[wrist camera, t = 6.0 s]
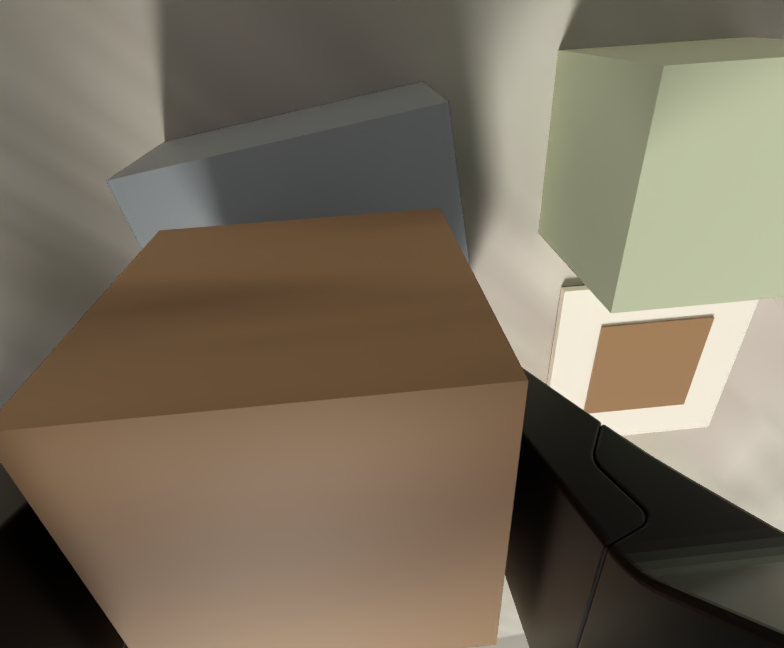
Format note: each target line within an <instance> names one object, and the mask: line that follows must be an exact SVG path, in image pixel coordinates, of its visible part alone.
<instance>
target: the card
mask: <svg viewBox="0 0 784 648" xmlns="http://www.w3.org/2000/svg"><path fill="white" fill-rule="evenodd" d="M758 301H759V300H749V301H739V302H728V303H717V304H706V305H696V306H685V307H674V308H663V309H653V310H642V311H631V312H620V313H610V312H609V311H608V310H607V309H606V308H605V306H604V305H603V304H602V303H601V302H600V301H599V300H598V299H597V298H596V296H595V295H594V294H593V293H592V292H591V291H590V290H589V289H588V288H587V286H586V285H584V286H572V287H561V293H560V300H559V307H558V313H557V320H556V326H555V333H554V340H553V346H552V353H551V360H550V366H549V373H548V380H547V385H548V386H550V387H551V388H552V389H554V390H555V391H557V392H558V393H560V394H561V395H563V396H564V397H565V398H567V399H568V400H570V401H571V402H573V403H574V404H576V405H577V406H579V407H580V408H581V409H583V410H584V411H586V412H587V413H589V414H590V415H592V416H593V417H594V418H596V419H597V420H599V421H600V422H601V425H606V426H608V427H609V428H611V429H612V430H614V431H615V432H616V433H618V434H619V435H631V434H641V433H651V432H661V431H671V430H681V429H691V428H701V427H708V426H709V423H710V421H711V418H712V416H713V413H714V411H715V408H716V406H717V403H718V401H719V398H720V396H721V393H722V391H723V388H724V386H725V383H726V381H727V378H728V376H729V373H730V371H731V368H732V366H733V363H734V361H735V358H736V356H737V353H738V351H739V348H740V346H741V343H742V341H743V338H744V336H745V333H746V331H747V328H748V326H749V323H750V321H751V318H752V316H753V313H754V311H755V308H756V306H757V303H758Z"/></svg>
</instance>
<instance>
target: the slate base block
mask: <svg viewBox="0 0 784 648" xmlns="http://www.w3.org/2000/svg"><path fill="white" fill-rule="evenodd" d="M106 182H107V184H108V186H109V188H110V190H111V191H112V193H113V195H114V197H115V199H116V201H117V203H118V205H119V207H120V209H121V211H122V213H123V215H124V216H125V218H126V220H127V222H128V224H129V226H130V228H131V230H132V232H133V234H134V236H135V238H136V240H137V241H138V243H139V245H140V247H141V249H143V248H144V247H145V246H146V245H147V244H148V243H149V241H150V240H151V239H152V238H153V237H154V236H155V235H156V234H157V232H158V231H159V230H171V229H183V228H196V227H208V226H221V225H233V224H246V223H259V222H271V221H284V220H296V219H309V218H321V217H334V216H346V215H359V214H372V213H384V212H397V211H409V210H422V209H434V208H440V209H441V211H442V213H443V215H444V217H445V219H446V221H447V223H448V225H449V227H450V229H451V231H452V233H453V235H454V237H455V239H456V240H457V242H458V244H459V246H460V248H461V250H462V252H463V254H464V256H465V258H466V260H467V262H468V264H469V259H468V251H467V243H466V235H465V227H464V220H463V212H462V204H461V196H460V188H459V180H458V172H457V164H456V157H455V149H454V141H453V133H452V125H451V117H450V109H449V102H448V101H447V100H446V99H444V98H443V97H442V96H441V95H439V94H438V93H437V92H436V91H434V90H433V89H432V88H430V87H429V86H428V85H427V84H425V83H424V82H423V81H422V82H418V83H414V84H409V85H405V86H401V87H397V88H392V89H388V90H384V91H379V92H375V93H371V94H367V95H362V96H358V97H354V98H349V99H345V100H341V101H337V102H332V103H328V104H324V105H319V106H315V107H311V108H307V109H302V110H298V111H294V112H289V113H285V114H281V115H277V116H272V117H268V118H264V119H259V120H255V121H251V122H247V123H242V124H238V125H234V126H229V127H225V128H221V129H217V130H212V131H208V132H204V133H199V134H195V135H191V136H187V137H182V138H178V139H174V140H169V141H165V142H163V143H162V144H160V145H159V146H157V147H156V148H154V149H153V150H151V151H150V152H148V153H147V154H145V155H144V156H142V157H141V158H139V159H138V160H136V161H135V162H133V163H132V164H130V165H129V166H127V167H126V168H124V169H123V170H121V171H120V172H118V173H117V174H115V175H114V176H112V177H111V178H109V179H108V180H106Z"/></svg>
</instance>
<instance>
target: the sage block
mask: <svg viewBox="0 0 784 648" xmlns="http://www.w3.org/2000/svg"><path fill="white" fill-rule="evenodd" d="M538 233H539V235H540V236H541V237H542V238H543V239H544V240H545V241H546V242H547V243H548V244H549V246H550V247H551V248H552V249H553V250H554V251H555V252H556V253H557V254H558V256H559V257H560V258H561V259H562V260H563V261H564V262H565V263H566V264H567V265H568V267H569V268H570V269H571V270H572V271H573V272H574V273H575V274H576V275H577V277H578V278H579V279H580V280H581V281H582V282H583V283H584V284H585V285H586V286H587V288H588V289H589V290H590V291H591V292H592V293H593V294H594V295H595V296H596V298H597V299H598V300H599V301H600V302H601V303H602V304H603V305H604V306H605V308H606V309H607V310H608V311H609V312H610V313H620V312H631V311H642V310H653V309H663V308H674V307H685V306H696V305H706V304H717V303H728V302H739V301H749V300H760V299H771V298H782V297H784V39H779V38H757V37H738V38H724V39H710V40H696V41H682V42H668V43H654V44H640V45H626V46H612V47H598V48H584V49H570V50H558V57H557V66H556V75H555V85H554V94H553V103H552V112H551V121H550V130H549V140H548V149H547V158H546V167H545V176H544V185H543V195H542V204H541V213H540V222H539V231H538Z"/></svg>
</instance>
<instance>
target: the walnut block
mask: <svg viewBox="0 0 784 648" xmlns="http://www.w3.org/2000/svg"><path fill="white" fill-rule="evenodd" d="M527 388H528V379H527V377H526V375H525V373H524V371H523V369H522V367H521V365H520V363H519V361H518V359H517V357H516V355H515V353H514V351H513V349H512V348H511V346H510V344H509V342H508V340H507V338H506V336H505V334H504V332H503V330H502V328H501V326H500V324H499V322H498V320H497V318H496V316H495V314H494V312H493V311H492V309H491V307H490V305H489V303H488V301H487V299H486V297H485V295H484V293H483V291H482V289H481V287H480V285H479V283H478V281H477V279H476V277H475V276H474V274H473V272H472V270H471V268H470V266H469V264H468V262H467V260H466V258H465V256H464V254H463V252H462V250H461V248H460V246H459V244H458V242H457V240H456V239H455V237H454V235H453V233H452V231H451V229H450V227H449V225H448V223H447V221H446V219H445V217H444V215H443V213H442V211H441V209H440V208H434V209H422V210H409V211H397V212H384V213H372V214H359V215H346V216H334V217H321V218H309V219H296V220H284V221H271V222H259V223H246V224H233V225H221V226H208V227H196V228H183V229H171V230H159V231H158V232H157V234H156V235H155V236H154V237H153V238H152V239H151V240H150V241H149V243H148V244H147V245H146V246H145V247H144V248H143V249H142V251H141V252H140V253H139V254H138V255H137V256H136V257H135V258H134V260H133V261H132V262H131V263H130V264H129V265H128V266H127V267H126V269H125V270H124V271H123V272H122V273H121V274H120V275H119V277H118V278H117V279H116V280H115V281H114V282H113V283H112V284H111V286H110V287H109V288H108V289H107V290H106V291H105V292H104V293H103V295H102V296H101V297H100V298H99V299H98V300H97V301H96V303H95V304H94V305H93V306H92V307H91V308H90V309H89V310H88V312H87V313H86V314H85V315H84V316H83V317H82V318H81V319H80V321H79V322H78V323H77V324H76V325H75V326H74V327H73V328H72V330H71V331H70V332H69V333H68V334H67V335H66V336H65V338H64V339H63V340H62V341H61V342H60V343H59V344H58V345H57V347H56V348H55V349H54V350H53V351H52V352H51V353H50V354H49V356H48V357H47V358H46V359H45V360H44V361H43V362H42V364H41V365H40V366H39V367H38V368H37V369H36V370H35V371H34V373H33V374H32V375H31V376H30V377H29V378H28V379H27V380H26V382H25V383H24V384H23V385H22V386H21V387H20V388H19V390H18V391H17V392H16V393H15V394H14V395H13V396H12V397H11V399H10V400H9V401H8V402H7V403H6V404H5V405H4V406H3V408H2V409H1V410H0V462H1V464H2V465H3V467H4V468H5V470H6V471H7V472H8V474H9V475H10V477H11V478H12V480H13V481H14V483H15V484H16V485H17V487H18V488H19V490H20V491H21V493H22V494H23V496H24V497H25V499H26V500H27V501H28V503H29V504H30V506H31V507H32V509H33V510H34V512H35V513H36V514H37V516H38V517H39V519H40V520H41V522H42V523H43V525H44V526H45V528H46V529H47V530H48V532H49V533H50V535H51V536H52V538H53V539H54V541H55V542H56V543H57V545H58V546H59V548H60V549H61V551H62V552H63V554H64V555H65V556H66V558H67V559H68V561H69V562H70V564H71V565H72V567H73V568H74V570H75V571H76V572H77V574H78V575H79V577H80V578H81V580H82V581H83V583H84V584H85V585H86V587H87V588H88V590H89V591H90V593H91V594H92V596H93V597H94V599H95V600H96V601H97V603H98V604H99V606H100V607H101V609H102V610H103V612H104V613H105V614H106V616H107V617H108V619H109V620H110V622H111V623H112V625H113V626H114V627H115V629H116V630H117V632H118V633H119V635H120V636H121V638H122V639H123V641H124V642H125V643H126V645H127V646H128V648H470V647H479V646H487V645H495V644H496V642H497V633H498V625H499V617H500V609H501V601H502V593H503V584H504V576H505V568H506V560H507V552H508V543H509V535H510V527H511V519H512V511H513V502H514V494H515V486H516V478H517V470H518V462H519V453H520V445H521V437H522V429H523V421H524V412H525V404H526V396H527Z"/></svg>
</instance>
